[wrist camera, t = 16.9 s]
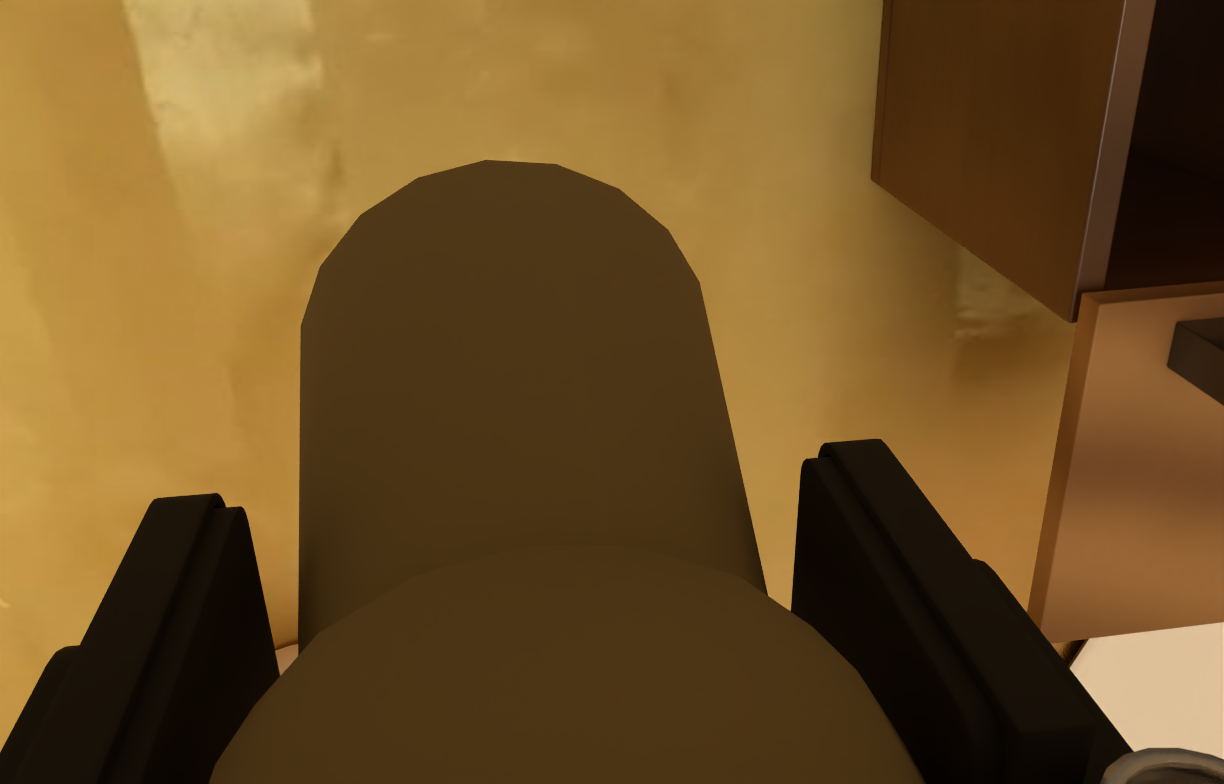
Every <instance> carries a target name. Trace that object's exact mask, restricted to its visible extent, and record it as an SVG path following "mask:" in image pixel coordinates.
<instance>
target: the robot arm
mask: <svg viewBox="0 0 1224 784" xmlns="http://www.w3.org/2000/svg"><path fill="white" fill-rule="evenodd" d="M791 612H792V613H793V614H795V615H796V616H798V617H799V618H801V619H802V620H803V621H805V622H806V623H808V624H809V625H811V626H812V627H813V628H814V629H815V630H816V631H817V632H818V633H819V634H820V635H821V636H822V637H823V638H824V639H825V640H826V641H827V642H828V643H830V644H831V645H832V646H833V647H834V648H835V649H836V650H837V651H838V652H839V653H840V654H841V655H842V656H843V657H844V658H845V659H846V660H847V661H848V662H849V663H850V664H851V665H852V666H853V667H854V668H855V669H856V670H857V671H858V673H859V674H860V676H861V677H862V679H863V680H864V682H865V684H866V685H867V687H868V688H869V690H870V691H871V693H872V694H873V696H874V697H875V699H876V700H877V702H878V704H879V705H880V707H881V708H882V710H883V711H884V713H885V714H886V716H887V717H888V719H889V721H890V722H891V724H892V725H893V727H894V728H895V730H896V731H897V733H898V734H899V736H900V737H901V739H902V741H903V742H904V744H905V746H906V747H907V749H908V751H909V753H910V755H911V757H912V759H913V760H914V762H915V764H916V766H917V768H918V770H919V772H920V773H921V775H922V777H923V779H924V781H925V783H926V784H1224V759H1221V758H1219V757H1216V756H1214V755H1211V754H1206V753H1201V752H1197V751H1192V750H1187V749H1182V748H1146V749H1142V750H1139V751H1135V752H1134V751H1133V750H1132V748H1131V747H1130V746H1129V745H1128V743H1127V742H1126V741H1125V739H1124V738H1123V737H1122V736H1121V734H1120V733H1119V732H1118V730H1117V729H1116V728H1115V726H1114V725H1113V724H1112V723H1111V721H1110V720H1109V719H1108V717H1107V716H1106V715H1105V714H1104V712H1103V711H1102V710H1101V708H1100V707H1099V706H1098V704H1097V703H1096V702H1095V701H1094V699H1093V698H1092V697H1091V695H1090V694H1089V693H1088V692H1087V690H1086V689H1085V688H1084V686H1083V685H1082V684H1081V683H1080V681H1079V680H1078V679H1077V677H1076V676H1075V675H1074V673H1073V672H1072V671H1071V670H1070V668H1069V667H1068V666H1067V664H1066V663H1065V662H1064V661H1063V659H1062V658H1061V657H1060V655H1059V654H1058V653H1057V651H1056V650H1055V649H1054V648H1053V646H1052V645H1051V644H1050V642H1049V641H1048V640H1047V639H1046V637H1045V636H1044V635H1043V633H1042V632H1041V631H1040V629H1039V628H1038V627H1037V626H1036V624H1035V623H1034V622H1033V620H1032V619H1031V618H1030V617H1029V615H1028V614H1027V613H1026V611H1025V610H1024V609H1023V608H1022V606H1021V605H1020V604H1019V602H1018V601H1017V600H1016V598H1015V597H1014V596H1013V595H1012V593H1011V592H1010V591H1009V589H1008V588H1007V587H1006V586H1005V584H1004V583H1003V582H1002V580H1001V579H1000V578H999V576H998V575H997V574H996V573H995V571H994V570H993V569H992V568H991V567H989V566H988V565H987V564H986V563H985V562H983V561H980V560H977V559H972V557H971V556H970V555H969V554H968V552H967V551H966V550H965V548H964V547H963V546H962V544H961V543H960V542H959V540H958V539H957V538H956V536H955V535H954V534H953V532H952V531H951V530H950V528H949V527H948V526H947V524H946V523H945V522H944V520H943V519H942V518H941V516H940V515H939V514H938V512H937V511H936V510H935V508H934V507H933V506H932V505H931V503H930V502H929V501H928V499H927V498H926V497H925V495H924V494H923V493H922V491H921V490H920V489H919V487H918V486H917V485H916V483H915V482H914V481H913V479H912V478H911V477H910V475H909V474H908V473H907V471H906V470H905V469H904V467H903V466H902V465H901V463H900V462H899V461H898V459H897V458H896V457H895V456H894V454H893V453H892V452H891V450H890V449H889V448H888V446H887V445H886V444H885V443H884V442H883V441H882V440H881V439H867V440H855V441H843V442H831V443H824V444H823V445H822V446H821V448H820V451H819V454H818V458H810V459H805V460H804V461H803V464H802V468H801V475H800V489H799V504H798V518H797V532H796V546H795V560H794V575H793V589H792V603H791ZM279 677H280V672H279V667H278V663H277V658H276V653H275V648H274V643H273V638H272V634H271V629H270V624H269V619H268V614H267V609H266V605H265V600H264V595H263V590H262V585H261V581H260V576H259V571H258V566H257V561H256V556H255V552H254V547H253V542H252V537H251V532H250V527H249V523H248V519H247V515H246V512H245V510H244V509H243V508H242V507H241V506H239V507H228V508H226V506H225V503H224V501H223V499H222V497H221V496H220V495H219V494H218V493H213V494H201V495H189V496H177V497H165V498H157V499H154V500H153V501H152V503H151V504H150V505H149V507H148V509H147V511H146V513H145V515H144V517H143V519H142V521H141V523H140V525H139V528H138V530H137V532H136V534H135V536H134V538H133V540H132V542H131V544H130V546H129V548H128V550H127V552H126V554H125V556H124V558H123V560H122V562H121V564H120V566H119V568H118V570H117V572H116V574H115V576H114V578H113V580H112V582H111V584H110V586H109V588H108V590H107V592H106V594H105V596H104V598H103V600H102V602H101V604H100V606H99V608H98V610H97V612H96V614H95V616H94V618H93V620H92V622H91V624H90V626H89V628H88V630H87V632H86V634H85V636H84V638H83V640H82V642H81V644H80V645H78V646H68V647H64V648H62V649H60V650H59V651H57V652H56V653H55V654H54V655H53V657H52V658H51V659H50V661H49V662H48V664H47V665H46V667H45V669H44V671H43V673H42V675H41V677H40V678H39V680H38V682H37V684H36V686H35V688H34V690H33V692H32V694H31V695H30V697H29V699H28V701H27V703H26V705H25V707H24V709H23V711H22V713H21V714H20V716H19V718H18V720H17V722H16V724H15V726H14V728H13V730H12V731H11V733H10V735H9V737H8V739H7V741H6V743H5V745H4V747H3V748H2V750H1V752H0V784H209V781H210V778H211V775H212V772H213V769H214V766H215V764H216V762H217V761H218V759H219V758H220V756H221V755H222V753H223V752H224V750H225V749H226V747H227V746H228V744H229V743H230V741H231V740H232V738H233V737H234V735H235V734H236V732H237V731H238V729H239V728H240V726H241V725H242V723H243V722H244V720H245V719H246V717H247V716H248V714H249V713H250V711H251V710H252V708H253V707H254V705H255V704H256V703H257V702H258V701H259V700H260V698H261V697H262V696H263V695H264V694H265V693H266V692H267V691H268V689H269V688H270V687H271V686H272V685H273V684H274V683H275V682H276V680H277V679H278V678H279Z"/></svg>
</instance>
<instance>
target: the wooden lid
mask: <svg viewBox="0 0 1224 784" xmlns="http://www.w3.org/2000/svg"><path fill="white" fill-rule="evenodd" d="M1027 614H1028V615H1029V617H1030V618H1031V619H1032V620H1033V622H1034V623H1035V624H1036V626H1037V627H1038V628H1039V629H1040V631H1041V632H1042V633H1043V635H1044V636H1045V637H1046V639H1047V640H1048V641H1049V642H1050V643H1058V642H1066V641H1074V640H1082V639H1090V638H1099V637H1107V636H1115V635H1123V634H1131V633H1140V632H1148V631H1156V630H1164V629H1172V628H1181V627H1189V626H1197V625H1205V624H1213V623H1222V622H1224V281H1215V282H1204V283H1193V284H1181V285H1170V286H1158V287H1147V288H1135V289H1124V290H1112V291H1101V292H1089V293H1083V294H1082V297H1081V303H1080V309H1079V315H1078V320H1077V326H1076V332H1075V338H1074V344H1073V349H1072V355H1071V361H1070V367H1069V373H1068V378H1067V384H1066V390H1065V396H1064V401H1063V407H1062V413H1061V419H1060V425H1059V430H1058V436H1057V442H1056V448H1055V454H1054V459H1053V465H1052V471H1051V477H1050V482H1049V488H1048V494H1047V500H1046V506H1045V511H1044V517H1043V523H1042V529H1041V535H1040V540H1039V546H1038V552H1037V558H1036V564H1035V569H1034V575H1033V581H1032V587H1031V592H1030V598H1029V604H1028V610H1027Z"/></svg>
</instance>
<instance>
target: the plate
mask: <svg viewBox="0 0 1224 784" xmlns="http://www.w3.org/2000/svg"><path fill="white" fill-rule="evenodd" d="M1068 667H1069V668H1070V670H1071V671H1072V672H1073V673H1074V675H1075V676H1076V677H1077V679H1078V680H1079V681H1080V683H1081V684H1082V685H1083V686H1084V688H1085V689H1086V690H1087V692H1088V693H1089V694H1090V695H1091V697H1092V698H1093V699H1094V701H1095V702H1096V703H1097V704H1098V706H1099V707H1100V708H1101V710H1102V711H1103V712H1104V714H1105V715H1106V716H1107V717H1108V719H1109V720H1110V721H1111V723H1112V724H1113V725H1114V726H1115V728H1116V729H1117V730H1118V732H1119V733H1120V734H1121V736H1122V737H1123V738H1124V739H1125V741H1126V742H1127V743H1128V745H1129V746H1130V747H1131V748H1132V750H1133V751H1134V752H1135V751H1139V750H1142V749H1146V748H1182V749H1187V750H1192V751H1197V752H1201V753H1206V754H1211V755H1214V756H1216V757H1219V758H1221V759H1224V622H1222V623H1213V624H1205V625H1197V626H1189V627H1181V628H1172V629H1164V630H1156V631H1148V632H1140V633H1131V634H1123V635H1115V636H1107V637H1099V638H1090V639H1085V641H1084V642H1083V644H1082V645H1081V647H1080V649H1079V650H1078V652H1077V653H1076V655H1075V656H1074V658H1073V659H1072V661H1071V662H1070V664H1069V665H1068Z"/></svg>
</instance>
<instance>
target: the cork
mask: <svg viewBox="0 0 1224 784" xmlns="http://www.w3.org/2000/svg"><path fill="white" fill-rule="evenodd" d="M209 784H926V783H925V781H924V779H923V777H922V775H921V773H920V772H919V770H918V768H917V766H916V764H915V762H914V760H913V759H912V757H911V755H910V753H909V751H908V749H907V747H906V746H905V744H904V742H903V741H902V739H901V737H900V736H899V734H898V733H897V731H896V730H895V728H894V727H893V725H892V724H891V722H890V721H889V719H888V717H887V716H886V714H885V713H884V711H883V710H882V708H881V707H880V705H879V704H878V702H877V700H876V699H875V697H874V696H873V694H872V693H871V691H870V690H869V688H868V687H867V685H866V684H865V682H864V680H863V679H862V677H861V676H860V674H859V673H858V671H857V670H856V669H855V668H854V667H853V666H852V665H851V664H850V663H849V662H848V661H847V660H846V659H845V658H844V657H843V656H842V655H841V654H840V653H839V652H838V651H837V650H836V649H835V648H834V647H833V646H832V645H831V644H830V643H828V642H827V641H826V640H825V639H824V638H823V637H822V636H821V635H820V634H819V633H818V632H817V631H816V630H815V629H814V628H813V627H812V626H811V625H809V624H808V623H806V622H805V621H803V620H802V619H801V618H799V617H798V616H796V615H795V614H793V613H792V612H790V611H789V610H787V609H786V608H785V607H783V606H782V605H780V604H779V603H777V602H776V601H774V600H773V599H771V598H770V597H769V596H768V593H767V589H766V584H765V580H764V575H763V570H762V566H761V561H760V557H759V552H758V548H757V543H756V538H755V534H754V529H753V525H752V520H751V516H750V511H749V506H748V502H747V497H746V493H745V488H744V483H743V479H742V474H741V470H740V465H739V461H738V456H737V451H736V447H735V442H734V438H733V433H732V429H731V424H730V419H729V415H728V410H727V406H726V401H725V397H724V392H723V387H722V383H721V378H720V374H719V369H718V365H717V360H716V355H715V351H714V346H713V342H712V337H711V333H710V328H709V323H708V319H707V314H706V310H705V305H704V301H703V296H702V291H701V287H700V282H699V281H698V279H697V277H696V276H695V274H694V272H693V271H692V269H691V267H690V266H689V264H688V262H687V261H686V259H685V257H684V256H683V254H682V252H681V250H680V249H679V247H678V245H677V244H676V242H675V240H674V239H673V237H672V235H671V234H670V232H669V230H668V229H666V228H665V227H664V226H663V225H662V224H660V223H659V222H658V221H657V220H656V219H654V218H653V217H652V216H651V215H650V214H648V213H647V212H646V211H645V210H644V209H643V208H641V207H640V206H639V205H638V204H637V203H635V202H634V201H633V200H632V199H631V198H629V197H628V196H627V195H626V194H625V193H623V192H622V191H621V190H620V189H618V188H616V187H613V186H611V185H608V184H605V183H603V182H600V181H598V180H595V179H593V178H590V177H588V176H585V175H582V174H580V173H577V172H575V171H572V170H570V169H567V168H565V167H562V166H559V165H557V164H545V163H528V162H511V161H494V160H484V161H480V162H477V163H473V164H469V165H465V166H461V167H457V168H453V169H450V170H446V171H442V172H438V173H434V174H430V175H427V176H423V177H419V178H417V179H415V180H414V181H412V182H411V183H409V184H408V185H406V186H404V187H403V188H401V189H400V190H398V191H397V192H395V193H394V194H392V195H391V196H389V197H387V198H386V199H384V200H383V201H381V202H380V203H378V204H377V205H375V206H373V207H372V208H370V209H369V210H367V211H366V212H364V213H363V214H361V215H360V216H359V217H358V219H357V220H356V221H355V223H354V224H353V225H352V226H351V228H350V229H349V230H348V232H347V233H346V234H345V235H344V237H343V238H342V239H341V240H340V242H339V243H338V244H337V246H336V247H335V248H334V249H333V251H332V252H331V253H330V255H329V256H328V257H327V258H326V260H325V261H324V262H323V264H322V265H321V266H320V268H319V271H318V275H317V278H316V281H315V284H314V287H313V290H312V293H311V296H310V299H309V302H308V305H307V308H306V311H305V315H304V318H303V321H302V324H301V355H300V481H299V607H298V657H297V658H296V659H295V660H294V661H293V662H292V663H291V665H290V666H289V667H288V668H287V669H286V670H285V671H284V673H283V674H282V675H281V676H280V677H279V678H278V679H277V680H276V682H275V683H274V684H273V685H272V686H271V687H270V688H269V689H268V691H267V692H266V693H265V694H264V695H263V696H262V697H261V698H260V700H259V701H258V702H257V703H256V704H255V705H254V707H253V708H252V710H251V711H250V713H249V714H248V716H247V717H246V719H245V720H244V722H243V723H242V725H241V726H240V728H239V729H238V731H237V732H236V734H235V735H234V737H233V738H232V740H231V741H230V743H229V744H228V746H227V747H226V749H225V750H224V752H223V753H222V755H221V756H220V758H219V759H218V761H217V762H216V764H215V766H214V769H213V772H212V775H211V778H210V781H209Z"/></svg>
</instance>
